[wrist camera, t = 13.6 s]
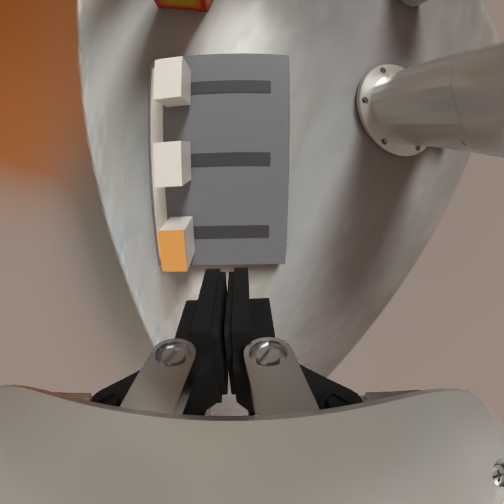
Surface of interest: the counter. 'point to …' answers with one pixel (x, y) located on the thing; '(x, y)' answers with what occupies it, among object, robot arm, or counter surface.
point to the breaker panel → (229, 158)
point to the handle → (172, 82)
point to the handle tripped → (176, 244)
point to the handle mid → (172, 163)
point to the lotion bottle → (413, 2)
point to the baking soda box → (185, 4)
